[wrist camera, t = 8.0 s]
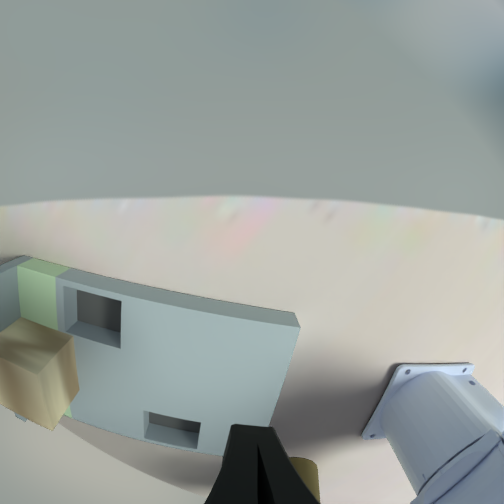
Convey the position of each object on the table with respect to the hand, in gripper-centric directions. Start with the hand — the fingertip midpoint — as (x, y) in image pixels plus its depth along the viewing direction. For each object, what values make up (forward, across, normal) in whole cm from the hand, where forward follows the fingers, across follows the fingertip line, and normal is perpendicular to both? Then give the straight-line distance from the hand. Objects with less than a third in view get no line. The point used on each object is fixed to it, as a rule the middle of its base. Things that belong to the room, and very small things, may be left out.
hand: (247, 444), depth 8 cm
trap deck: (+10, +6, +5) cm, 13 cm away
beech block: (+8, +13, +5) cm, 16 cm away
